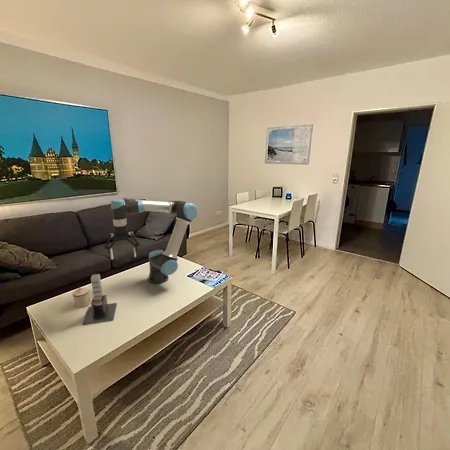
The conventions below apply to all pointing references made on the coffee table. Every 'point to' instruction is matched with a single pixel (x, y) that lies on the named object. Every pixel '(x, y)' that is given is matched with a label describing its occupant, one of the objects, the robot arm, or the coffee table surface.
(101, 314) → the stand base
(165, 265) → the robot arm
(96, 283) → the column
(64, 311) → the coffee table surface
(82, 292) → the teacup with lid
